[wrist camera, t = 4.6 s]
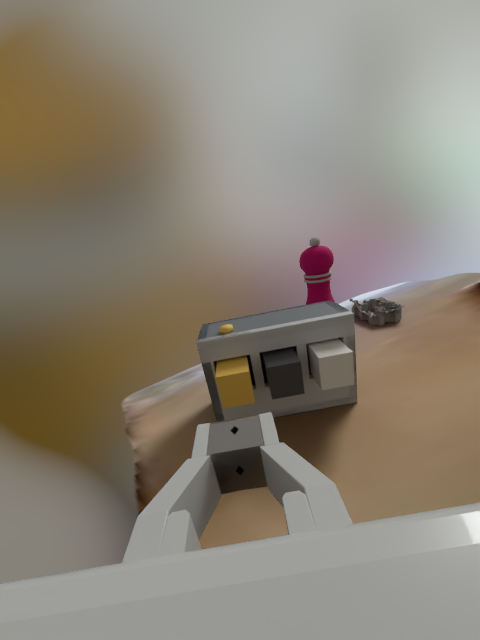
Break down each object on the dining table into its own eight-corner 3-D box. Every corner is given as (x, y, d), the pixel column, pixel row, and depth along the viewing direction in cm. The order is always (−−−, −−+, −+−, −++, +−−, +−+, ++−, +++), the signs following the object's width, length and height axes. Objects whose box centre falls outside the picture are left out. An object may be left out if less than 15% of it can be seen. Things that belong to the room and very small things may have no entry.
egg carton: (348, 314, 61) (347, 298, 59) (378, 308, 60) (378, 292, 59) (371, 328, 51) (371, 310, 49) (407, 321, 50) (408, 303, 49)
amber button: (252, 382, 30) (246, 354, 29) (255, 402, 27) (249, 371, 25) (223, 387, 30) (217, 359, 29) (223, 408, 27) (215, 377, 25)
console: (335, 375, 37) (330, 295, 33) (357, 402, 31) (353, 308, 27) (220, 396, 37) (201, 320, 33) (218, 427, 31) (195, 338, 27)
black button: (295, 374, 30) (291, 345, 29) (304, 393, 27) (300, 361, 25) (266, 379, 30) (262, 351, 29) (272, 399, 27) (266, 367, 25)
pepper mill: (329, 349, 45) (321, 237, 39) (297, 341, 50) (285, 242, 44) (348, 334, 49) (343, 231, 43) (317, 329, 55) (308, 237, 48)
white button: (338, 366, 30) (336, 337, 29) (354, 384, 26) (352, 351, 25) (310, 371, 30) (307, 342, 29) (321, 390, 27) (318, 358, 25)
